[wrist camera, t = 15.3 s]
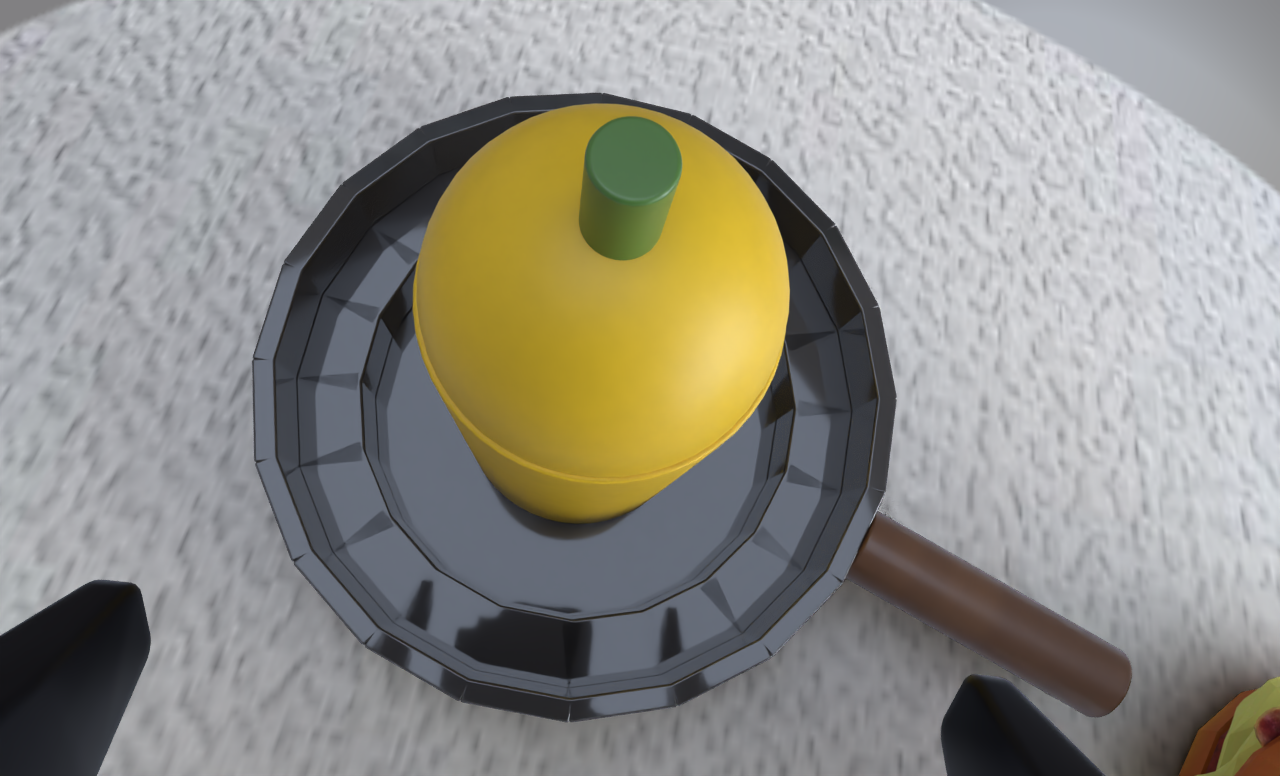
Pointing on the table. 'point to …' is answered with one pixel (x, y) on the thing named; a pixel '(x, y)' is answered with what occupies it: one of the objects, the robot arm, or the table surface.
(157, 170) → the table surface
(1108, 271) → the table surface
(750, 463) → the dark grey frying pan
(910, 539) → the handle
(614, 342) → the pepper
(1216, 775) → the cheeseburger
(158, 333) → the table surface
